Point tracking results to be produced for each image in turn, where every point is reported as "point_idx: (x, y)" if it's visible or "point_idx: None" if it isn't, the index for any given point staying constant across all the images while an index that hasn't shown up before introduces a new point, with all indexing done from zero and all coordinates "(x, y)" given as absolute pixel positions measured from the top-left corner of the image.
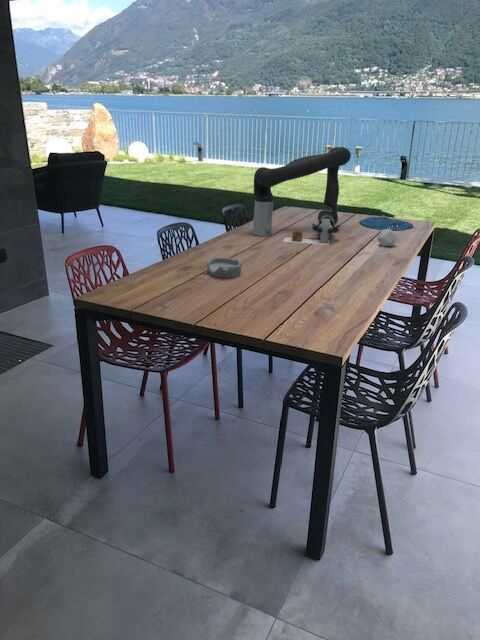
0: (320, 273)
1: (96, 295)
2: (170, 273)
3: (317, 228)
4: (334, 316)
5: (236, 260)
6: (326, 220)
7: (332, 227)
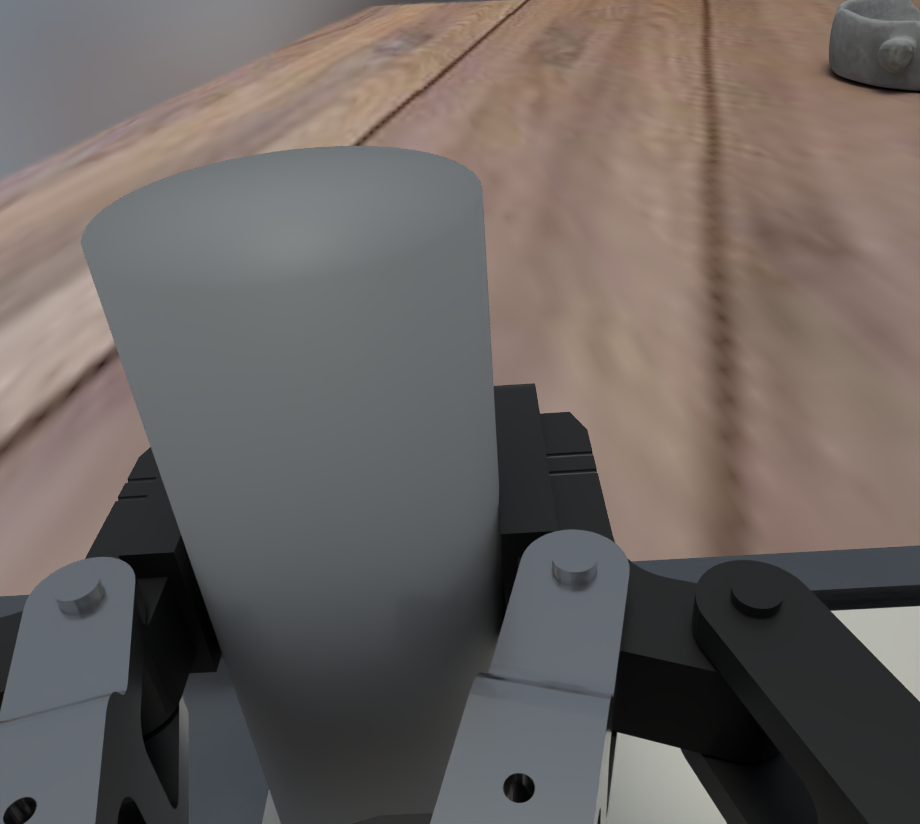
0: (426, 150)
1: None
2: None
3: (651, 602)
4: (375, 39)
5: (911, 22)
6: (287, 155)
7: (38, 589)
